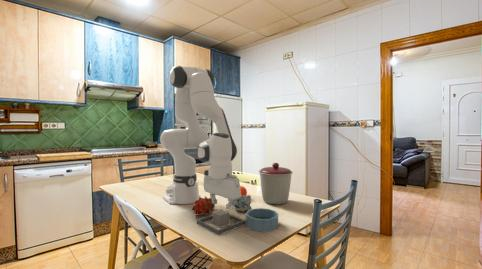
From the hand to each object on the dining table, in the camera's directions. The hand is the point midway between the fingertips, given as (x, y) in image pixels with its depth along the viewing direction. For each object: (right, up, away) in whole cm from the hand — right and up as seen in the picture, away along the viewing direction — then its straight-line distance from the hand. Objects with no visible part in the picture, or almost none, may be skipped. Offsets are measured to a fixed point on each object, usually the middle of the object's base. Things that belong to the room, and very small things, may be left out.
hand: (221, 206), depth 99 cm
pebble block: (0, -8, +1) cm, 8 cm away
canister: (+26, -7, +31) cm, 41 cm away
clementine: (+7, -7, +36) cm, 37 cm away
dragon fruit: (-9, -8, +12) cm, 17 cm away
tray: (0, -8, +1) cm, 8 cm away
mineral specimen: (+8, -7, +19) cm, 22 cm away
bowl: (+17, -8, 0) cm, 18 cm away
